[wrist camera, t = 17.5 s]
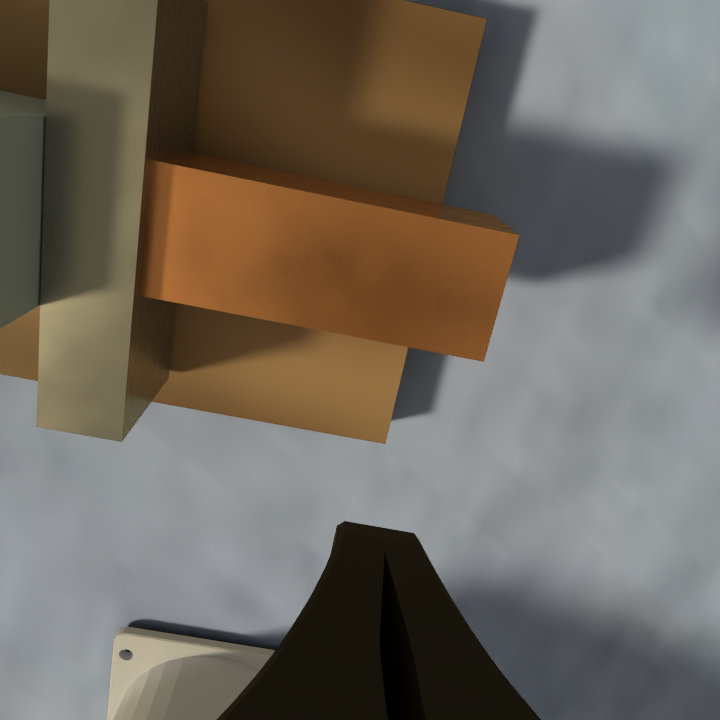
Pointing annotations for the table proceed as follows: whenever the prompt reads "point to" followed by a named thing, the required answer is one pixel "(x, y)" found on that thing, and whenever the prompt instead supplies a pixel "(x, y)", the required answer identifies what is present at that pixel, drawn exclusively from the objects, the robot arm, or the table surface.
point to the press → (297, 156)
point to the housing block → (21, 203)
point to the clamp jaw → (214, 228)
